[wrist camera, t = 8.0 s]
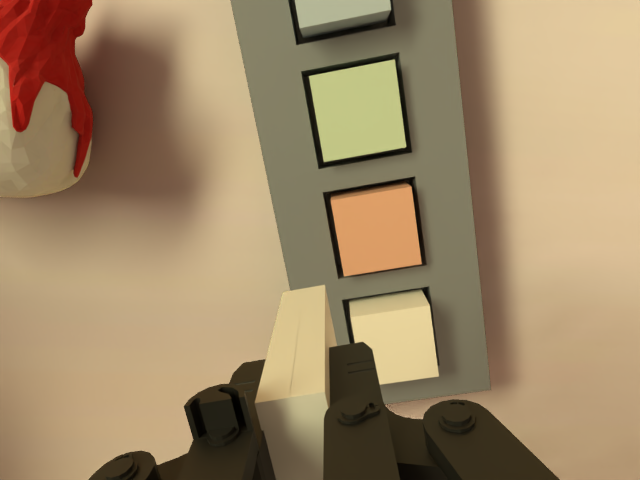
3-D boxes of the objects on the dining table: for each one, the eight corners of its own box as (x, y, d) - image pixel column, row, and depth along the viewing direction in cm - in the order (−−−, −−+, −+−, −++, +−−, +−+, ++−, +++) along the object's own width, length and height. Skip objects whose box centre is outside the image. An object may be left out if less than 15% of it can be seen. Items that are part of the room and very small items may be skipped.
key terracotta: (343, 262, 28) (344, 276, 26) (331, 193, 27) (330, 200, 25) (414, 251, 28) (421, 263, 25) (404, 180, 27) (411, 186, 24)
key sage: (325, 158, 27) (323, 162, 24) (311, 80, 26) (308, 76, 23) (399, 145, 26) (406, 147, 24) (388, 66, 25) (394, 59, 23)
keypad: (317, 385, 32) (315, 413, 29) (224, -75, 25) (209, -103, 22) (475, 363, 31) (490, 389, 28) (423, -119, 24) (436, -155, 21)
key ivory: (360, 364, 29) (362, 387, 26) (349, 300, 28) (350, 317, 25) (429, 354, 28) (438, 376, 26) (421, 288, 27) (429, 305, 25)
